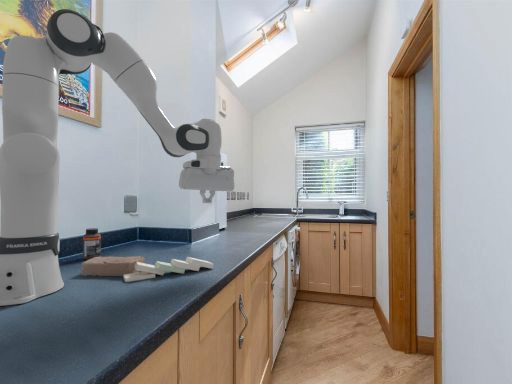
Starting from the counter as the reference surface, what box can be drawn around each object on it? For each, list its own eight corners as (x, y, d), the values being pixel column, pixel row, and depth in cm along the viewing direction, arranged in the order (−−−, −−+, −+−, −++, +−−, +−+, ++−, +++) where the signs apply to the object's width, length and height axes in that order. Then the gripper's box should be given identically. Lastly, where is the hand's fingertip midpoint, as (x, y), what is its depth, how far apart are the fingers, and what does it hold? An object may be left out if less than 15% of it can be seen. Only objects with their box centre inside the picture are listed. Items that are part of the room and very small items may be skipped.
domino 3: (198, 271, 87) (175, 266, 83) (192, 268, 91) (170, 263, 86) (200, 266, 88) (177, 261, 83) (194, 263, 91) (172, 258, 87)
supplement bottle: (86, 256, 107) (86, 227, 107) (103, 255, 108) (103, 227, 109) (79, 260, 101) (80, 229, 101) (97, 259, 103) (97, 229, 103)
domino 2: (163, 275, 82) (135, 270, 79) (160, 272, 86) (134, 266, 83) (164, 269, 82) (137, 264, 79) (162, 267, 86) (136, 261, 83)
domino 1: (155, 279, 81) (125, 284, 76) (151, 275, 85) (123, 279, 80) (155, 274, 81) (125, 278, 76) (151, 270, 85) (123, 274, 80)
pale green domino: (183, 273, 85) (158, 269, 80) (178, 270, 88) (154, 266, 84) (185, 268, 85) (160, 264, 81) (180, 265, 89) (156, 260, 84)
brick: (79, 276, 82) (79, 261, 82) (96, 268, 91) (97, 254, 91) (133, 277, 82) (133, 262, 82) (145, 270, 90) (145, 255, 90)
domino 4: (212, 268, 90) (190, 264, 86) (206, 265, 94) (185, 261, 89) (213, 264, 90) (192, 259, 86) (207, 261, 94) (186, 256, 90)
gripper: (230, 168, 107) (229, 203, 107) (178, 163, 96) (176, 202, 96) (237, 166, 102) (236, 203, 101) (183, 161, 91) (181, 202, 91)
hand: (207, 203), depth 98 cm, fingers closed
